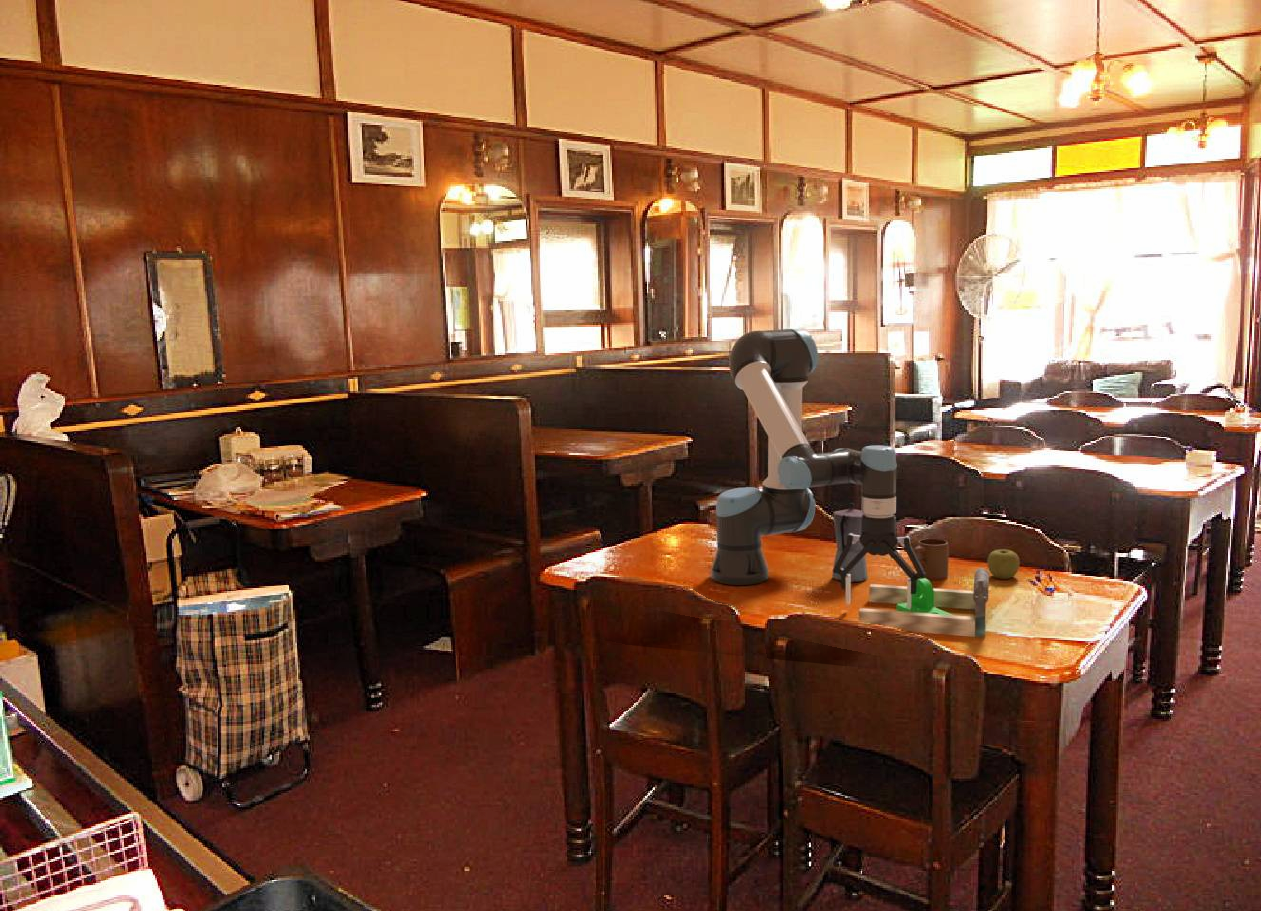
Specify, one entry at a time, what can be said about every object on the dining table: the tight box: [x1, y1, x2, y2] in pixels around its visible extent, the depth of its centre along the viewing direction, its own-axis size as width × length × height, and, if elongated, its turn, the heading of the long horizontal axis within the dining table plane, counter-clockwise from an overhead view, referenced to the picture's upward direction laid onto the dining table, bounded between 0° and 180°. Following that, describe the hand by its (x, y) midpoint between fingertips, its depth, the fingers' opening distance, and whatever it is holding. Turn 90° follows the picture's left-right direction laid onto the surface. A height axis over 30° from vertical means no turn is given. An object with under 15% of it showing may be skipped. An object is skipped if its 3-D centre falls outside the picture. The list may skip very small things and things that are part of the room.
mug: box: [913, 538, 950, 581], centre depth 240 cm, size 12×8×9 cm, turn 125°
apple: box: [986, 548, 1021, 580], centre depth 238 cm, size 8×8×7 cm
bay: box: [858, 567, 990, 638], centre depth 209 cm, size 26×22×13 cm
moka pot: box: [832, 502, 869, 583], centre depth 241 cm, size 10×15×20 cm, turn 155°
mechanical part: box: [896, 578, 953, 615], centre depth 211 cm, size 12×6×8 cm, turn 22°
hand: (878, 605), depth 214 cm, fingers open, 13 cm apart
